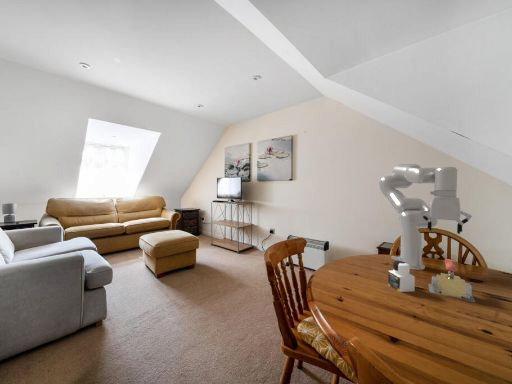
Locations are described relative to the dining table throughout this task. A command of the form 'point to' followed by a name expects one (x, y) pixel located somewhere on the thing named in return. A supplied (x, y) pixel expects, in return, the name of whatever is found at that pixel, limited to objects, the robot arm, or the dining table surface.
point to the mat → (450, 296)
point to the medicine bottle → (401, 277)
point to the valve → (451, 285)
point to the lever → (450, 265)
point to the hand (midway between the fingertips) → (444, 231)
